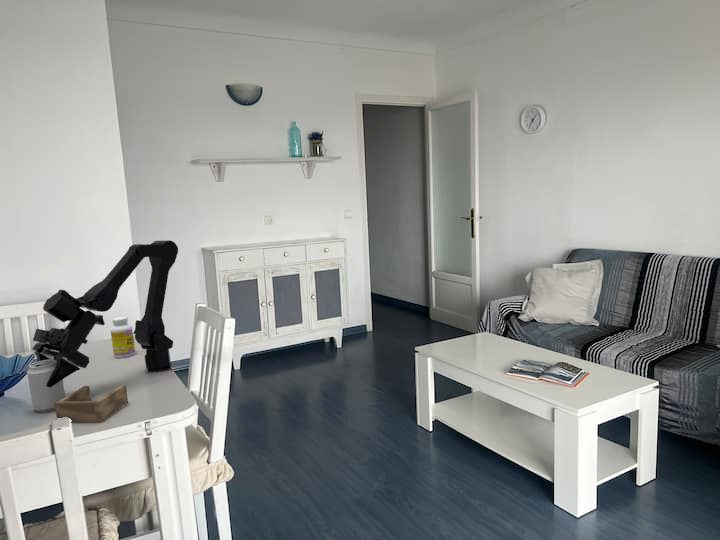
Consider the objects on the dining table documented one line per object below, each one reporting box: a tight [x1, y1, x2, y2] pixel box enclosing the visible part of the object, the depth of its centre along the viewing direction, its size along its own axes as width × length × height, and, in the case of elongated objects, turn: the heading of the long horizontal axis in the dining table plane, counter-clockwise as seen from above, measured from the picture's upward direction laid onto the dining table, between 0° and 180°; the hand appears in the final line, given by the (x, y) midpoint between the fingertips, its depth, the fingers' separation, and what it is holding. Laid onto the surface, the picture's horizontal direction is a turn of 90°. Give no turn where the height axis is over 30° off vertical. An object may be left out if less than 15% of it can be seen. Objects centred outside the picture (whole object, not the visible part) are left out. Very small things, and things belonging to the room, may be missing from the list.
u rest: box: [54, 384, 129, 423], centre depth 135 cm, size 11×11×5 cm
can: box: [26, 359, 66, 413], centre depth 140 cm, size 8×8×12 cm
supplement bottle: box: [110, 316, 136, 359], centre depth 183 cm, size 7×7×13 cm
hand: (40, 384), depth 139 cm, fingers closed on can, 7 cm apart
